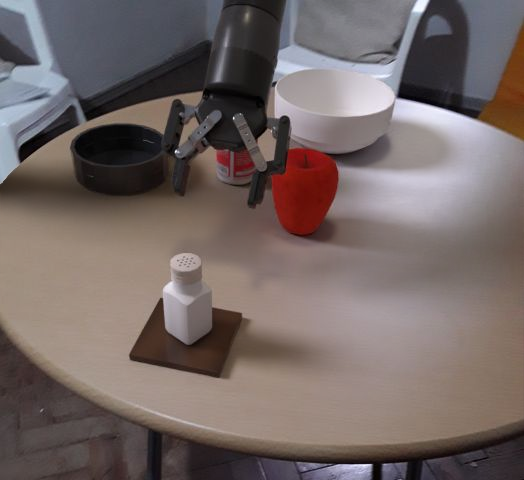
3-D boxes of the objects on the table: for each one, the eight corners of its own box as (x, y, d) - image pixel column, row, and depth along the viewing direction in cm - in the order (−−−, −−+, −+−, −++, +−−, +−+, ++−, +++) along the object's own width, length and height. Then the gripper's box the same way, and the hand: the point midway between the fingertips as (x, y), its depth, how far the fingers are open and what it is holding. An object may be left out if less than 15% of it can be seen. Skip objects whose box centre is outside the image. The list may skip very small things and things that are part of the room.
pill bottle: (260, 170, 99) (264, 100, 91) (250, 189, 95) (253, 117, 87) (222, 164, 100) (223, 94, 92) (211, 182, 96) (210, 111, 88)
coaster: (129, 359, 68) (128, 354, 67) (160, 302, 75) (160, 297, 74) (218, 377, 66) (218, 372, 66) (242, 317, 73) (242, 312, 73)
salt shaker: (188, 348, 68) (185, 278, 62) (163, 331, 70) (157, 262, 63) (214, 330, 70) (214, 261, 64) (189, 314, 72) (186, 245, 66)
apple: (333, 214, 91) (344, 143, 83) (328, 248, 84) (338, 175, 77) (273, 206, 91) (278, 135, 84) (263, 239, 85) (267, 166, 78)
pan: (58, 186, 92) (53, 158, 89) (98, 144, 102) (94, 117, 99) (150, 202, 91) (148, 173, 88) (181, 157, 101) (180, 130, 98)
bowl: (252, 125, 110) (254, 76, 105) (346, 109, 117) (353, 62, 112) (308, 177, 98) (313, 125, 92) (409, 155, 105) (420, 105, 99)
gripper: (174, 35, 69) (145, 181, 69) (302, 53, 67) (272, 202, 67) (190, 68, 76) (164, 199, 76) (306, 84, 74) (279, 219, 74)
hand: (215, 200), depth 71 cm, fingers open, 8 cm apart
